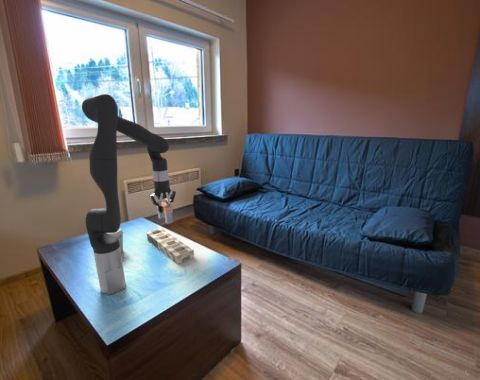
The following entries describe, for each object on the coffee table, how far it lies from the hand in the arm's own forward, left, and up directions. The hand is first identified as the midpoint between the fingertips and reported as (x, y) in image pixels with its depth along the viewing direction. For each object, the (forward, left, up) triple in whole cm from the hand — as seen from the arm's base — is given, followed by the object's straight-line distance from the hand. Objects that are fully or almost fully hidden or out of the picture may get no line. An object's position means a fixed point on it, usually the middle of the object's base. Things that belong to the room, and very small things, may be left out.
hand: (164, 211), depth 133 cm
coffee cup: (+12, +23, -20) cm, 32 cm away
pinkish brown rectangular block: (0, 0, -5) cm, 5 cm away
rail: (-2, +1, -20) cm, 20 cm away
